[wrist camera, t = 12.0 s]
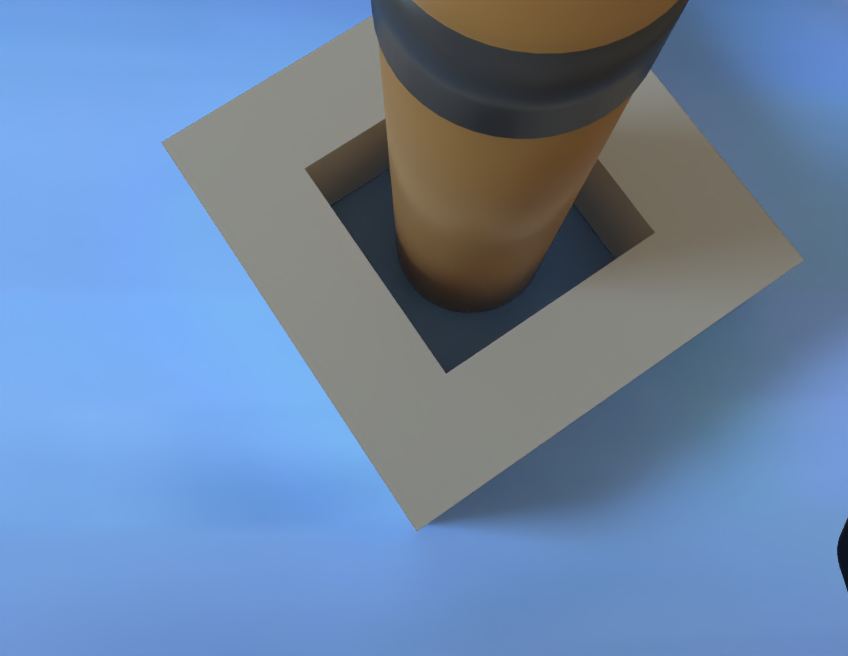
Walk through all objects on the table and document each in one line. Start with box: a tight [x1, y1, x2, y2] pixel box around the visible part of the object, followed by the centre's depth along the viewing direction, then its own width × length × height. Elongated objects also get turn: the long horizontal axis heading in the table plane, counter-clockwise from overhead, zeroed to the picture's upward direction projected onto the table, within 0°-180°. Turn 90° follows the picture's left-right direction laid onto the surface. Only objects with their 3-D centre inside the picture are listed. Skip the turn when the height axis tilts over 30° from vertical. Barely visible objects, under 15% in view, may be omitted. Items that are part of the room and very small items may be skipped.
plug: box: [371, 0, 689, 313], centre depth 15 cm, size 4×4×13 cm
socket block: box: [161, 16, 804, 531], centre depth 20 cm, size 11×11×4 cm
